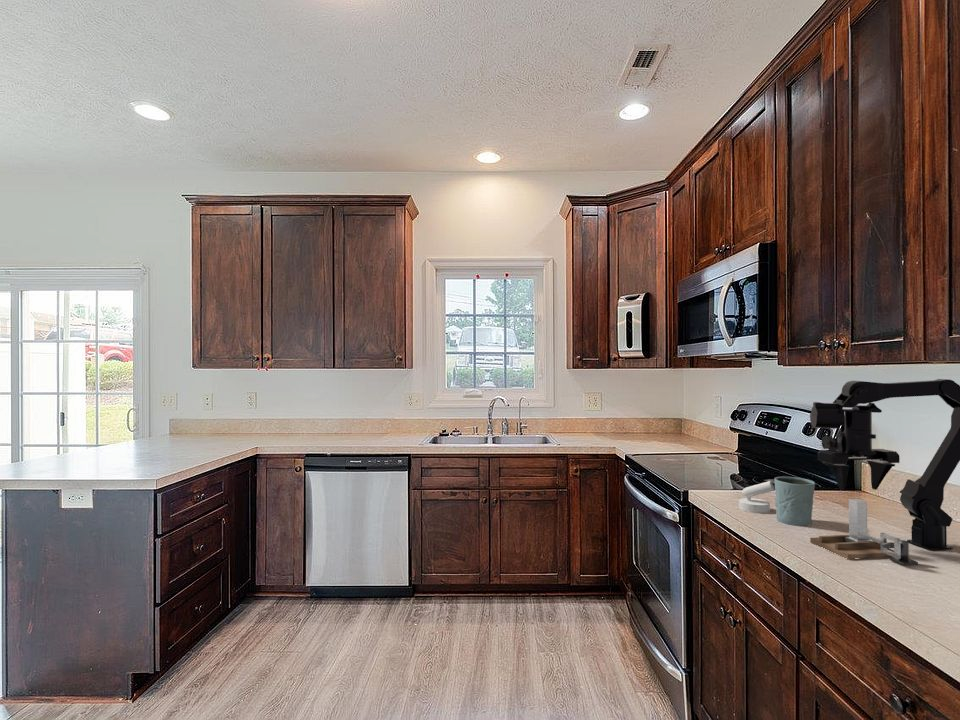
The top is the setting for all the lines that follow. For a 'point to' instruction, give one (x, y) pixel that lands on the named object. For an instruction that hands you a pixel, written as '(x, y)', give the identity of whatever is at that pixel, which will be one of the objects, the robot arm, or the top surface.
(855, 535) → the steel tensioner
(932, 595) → the top surface
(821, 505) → the top surface
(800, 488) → the green embossed cup
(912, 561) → the keeper hook
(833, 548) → the track board
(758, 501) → the wall hook
